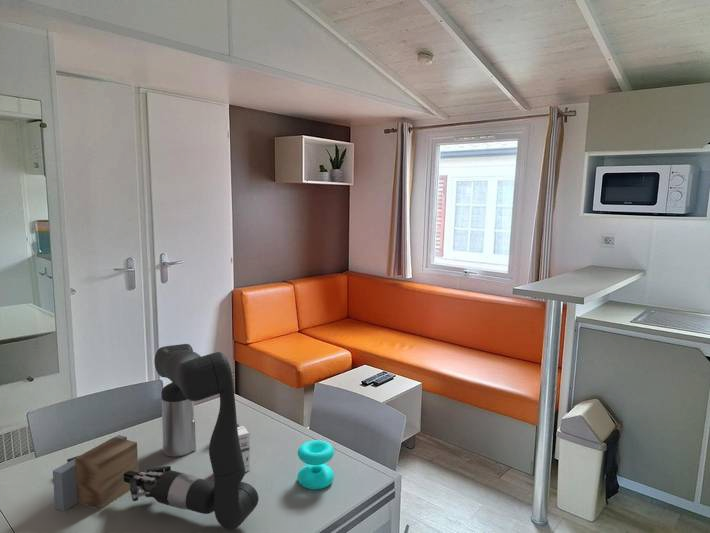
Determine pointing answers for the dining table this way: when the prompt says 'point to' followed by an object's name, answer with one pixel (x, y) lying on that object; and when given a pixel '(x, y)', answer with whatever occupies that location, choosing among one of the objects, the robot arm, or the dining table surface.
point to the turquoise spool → (315, 464)
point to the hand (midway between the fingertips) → (125, 475)
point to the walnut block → (105, 472)
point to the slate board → (67, 484)
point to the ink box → (244, 446)
